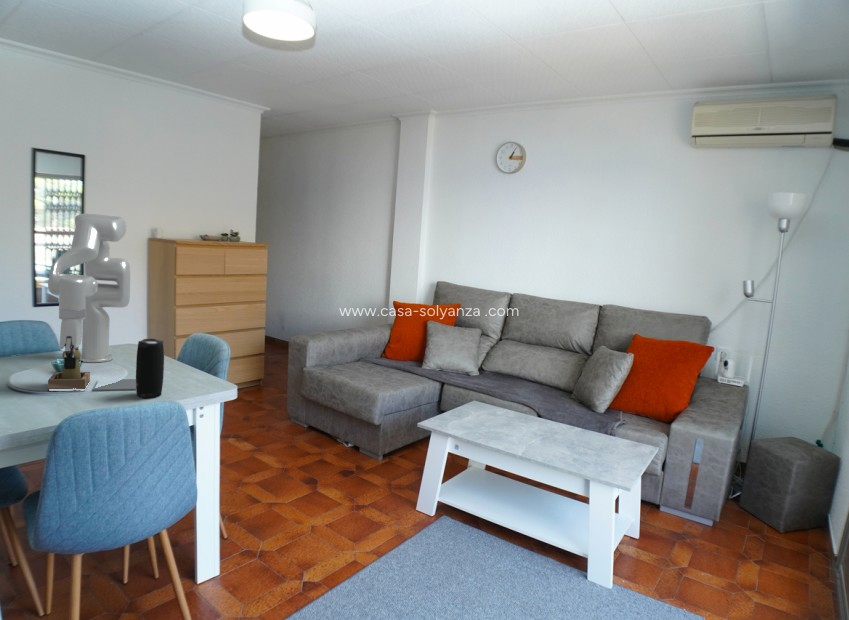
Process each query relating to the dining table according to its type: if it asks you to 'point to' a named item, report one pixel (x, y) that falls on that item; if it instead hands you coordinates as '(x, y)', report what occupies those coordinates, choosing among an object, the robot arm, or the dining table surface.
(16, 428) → the dining table surface
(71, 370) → the olive bottle
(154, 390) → the portable speaker
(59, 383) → the walnut holder
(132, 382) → the charcoal mat
